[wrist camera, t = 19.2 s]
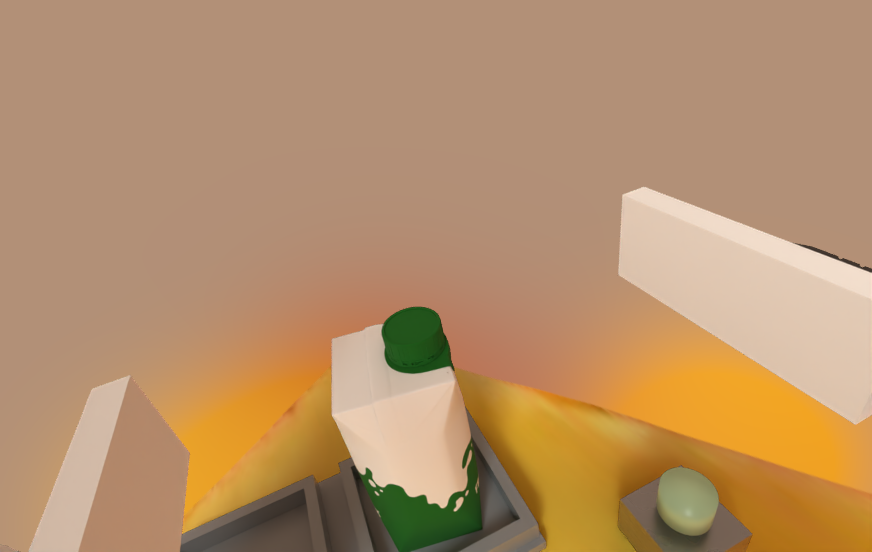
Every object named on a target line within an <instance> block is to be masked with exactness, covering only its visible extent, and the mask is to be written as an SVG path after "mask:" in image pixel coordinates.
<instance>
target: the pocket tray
mask: <svg viewBox="0 0 872 552" xmlns="http://www.w3.org/2000/svg"><path fill="white" fill-rule="evenodd" d="M465 409H466V414H467V419H468V423H469V428H470V433H471V438H472V443H473V447H474V452H475V457H476V463H477V469H478V476H479V488H480V502H481V515H482V527H483V529H482V530H479V531H476V532H473V533H470V534H466V535H463V536H460V537H457V538H453V539H450V540H447V541H444V542H440V543H437V544H434V545H431V546H427V547H424V548H421V549H418V550H414V551H411V552H539V551H541V550H543V549H545V548H546V541H545V539H544V538H543V536H542V534H541V533H540V531H539V526H538V523H537V521H536V519H535V518H534V516H533V515H532V513H531V511H530V510H529V508H528V506H527V505H526V503H525V502H524V500H523V498H522V497H521V495H520V494H519V492H518V490H517V489H516V487H515V486H514V484H513V482H512V481H511V479H510V478H509V476H508V474H507V473H506V471H505V469H504V468H503V466H502V465H501V463H500V461H499V460H498V458H497V457H496V455H495V453H494V452H493V450H492V449H491V447H490V445H489V444H488V442H487V441H486V439H485V437H484V436H483V434H482V432H481V431H480V429H479V428H478V426H477V424H476V423H475V421H474V420H473V418H472V416H471V415H470V413H469V412H468V410H467V408H466V407H465ZM339 467H340V472H341V473H339V474H336V475H334V476H332V477H330V478H328V479H326V480H323V481H321V482H319V483H317V481H316V479H315V478H314V476H313V475H311V476H309V477H307V478H305V479H302V480H300V481H298V482H296V483H294V484H291V485H289V486H287V487H285V488H283V489H280V490H278V491H276V492H274V493H272V494H269V495H267V496H265V497H263V498H261V499H258V500H256V501H254V502H252V503H250V504H247V505H245V506H243V507H241V508H239V509H236V510H234V511H232V512H230V513H228V514H225V515H223V516H221V517H219V518H217V519H214V520H212V521H210V522H208V523H206V524H203V525H201V526H199V527H197V528H195V529H192V530H190V531H188V532H186V533H184V534H182V536H181V546H180V552H399V551H398V549H397V547H396V546H395V544H394V542H393V540H392V538H391V537H390V535H389V533H388V531H387V529H386V527H385V526H384V524H383V522H382V520H381V518H380V517H379V515H378V513H377V511H376V509H375V507H374V505H373V503H372V501H371V499H370V497H369V495H368V492H367V490H366V488H365V486H364V484H363V481H362V479H361V477H360V475H359V472H358V470H357V468H356V466H355V464H354V461H353V459H352V457H351V458H349V459H347V460H344V461H342V462H340V463H339Z"/></svg>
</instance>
